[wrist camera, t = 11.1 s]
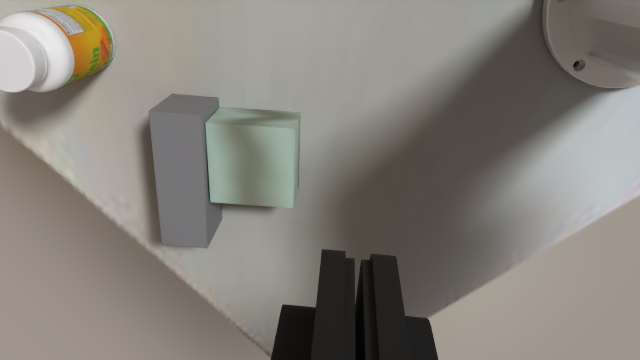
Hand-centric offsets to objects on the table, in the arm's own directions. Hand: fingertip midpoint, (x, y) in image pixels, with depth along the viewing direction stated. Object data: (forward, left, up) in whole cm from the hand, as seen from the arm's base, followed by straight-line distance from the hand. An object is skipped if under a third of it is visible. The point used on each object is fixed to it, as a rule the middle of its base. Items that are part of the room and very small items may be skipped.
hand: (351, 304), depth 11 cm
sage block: (+7, +8, -29) cm, 31 cm away
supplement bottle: (+22, 0, -29) cm, 37 cm away
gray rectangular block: (+13, +10, -29) cm, 33 cm away
